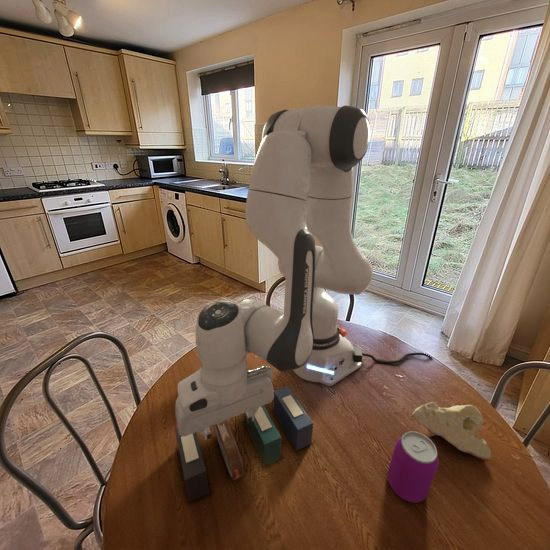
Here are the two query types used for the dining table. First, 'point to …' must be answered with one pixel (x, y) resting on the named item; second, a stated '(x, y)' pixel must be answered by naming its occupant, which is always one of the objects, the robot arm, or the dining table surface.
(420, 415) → the cheese
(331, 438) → the dining table surface
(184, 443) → the block
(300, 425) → the block
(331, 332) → the robot arm
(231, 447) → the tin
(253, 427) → the block
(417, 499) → the beverage can
